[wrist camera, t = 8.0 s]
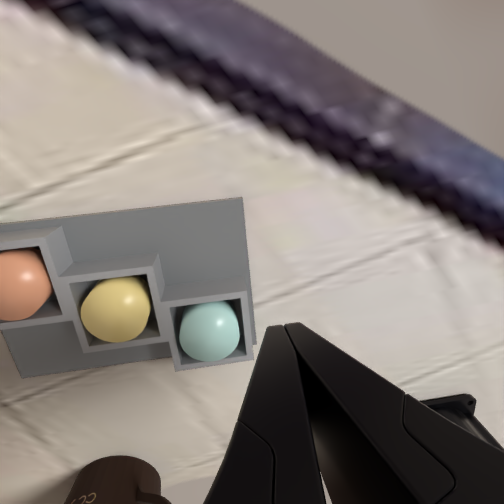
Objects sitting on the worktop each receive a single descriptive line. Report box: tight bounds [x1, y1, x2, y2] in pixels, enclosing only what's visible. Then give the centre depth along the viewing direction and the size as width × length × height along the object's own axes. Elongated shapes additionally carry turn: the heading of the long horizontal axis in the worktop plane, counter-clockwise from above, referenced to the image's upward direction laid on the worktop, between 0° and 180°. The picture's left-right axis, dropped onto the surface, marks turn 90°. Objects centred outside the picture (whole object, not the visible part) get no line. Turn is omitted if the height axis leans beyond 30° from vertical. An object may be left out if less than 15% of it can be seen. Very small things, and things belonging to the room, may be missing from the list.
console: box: [0, 197, 257, 378], centre depth 19 cm, size 15×10×2 cm, turn 95°
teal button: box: [179, 300, 240, 362], centre depth 20 cm, size 3×3×2 cm
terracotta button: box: [0, 247, 55, 321], centre depth 18 cm, size 3×3×2 cm
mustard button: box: [81, 275, 153, 343], centre depth 19 cm, size 3×3×2 cm
